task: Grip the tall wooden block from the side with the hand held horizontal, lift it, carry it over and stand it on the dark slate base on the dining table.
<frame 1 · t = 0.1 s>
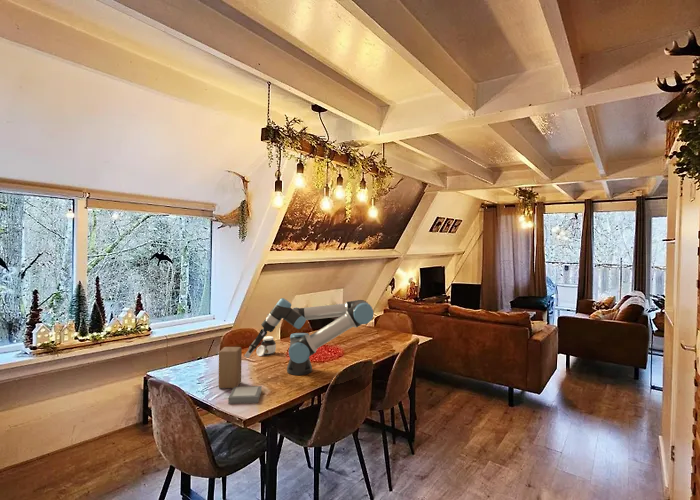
hand: (248, 353, 215), 15 cm above the table, tool tilted 35°, fingers open, 13 cm apart
wooden block: (230, 385, 206), on the table
spread jar: (266, 354, 264), on the table
slate base: (245, 397, 191), on the table
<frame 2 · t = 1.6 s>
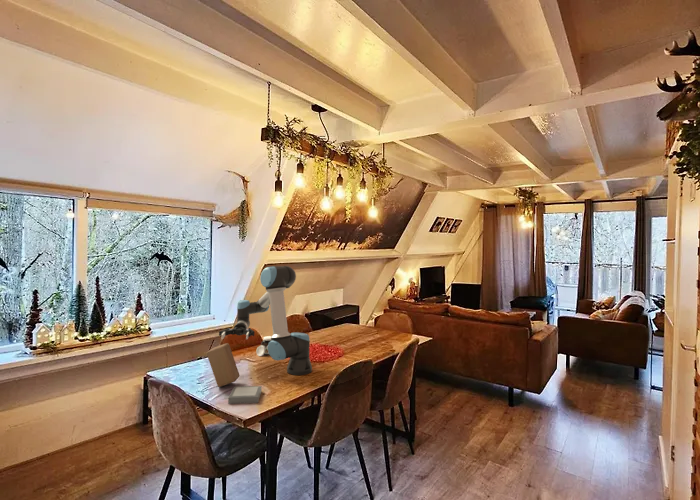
hand: (234, 337, 215), 24 cm above the table, tool horizontal, fingers open, 13 cm apart
wooden block: (229, 382, 206), point 2 cm above the table
everything else where it was.
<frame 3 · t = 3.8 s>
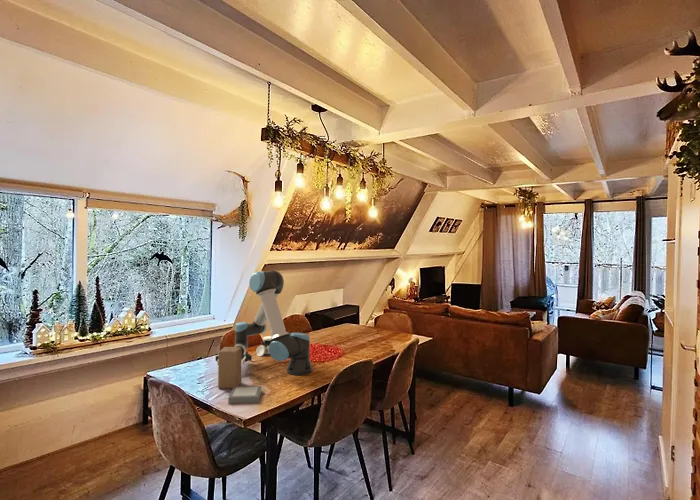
hand: (230, 362, 211), 11 cm above the table, tool horizontal, fingers open, 13 cm apart
wooden block: (229, 385, 206), on the table
everything else where it was.
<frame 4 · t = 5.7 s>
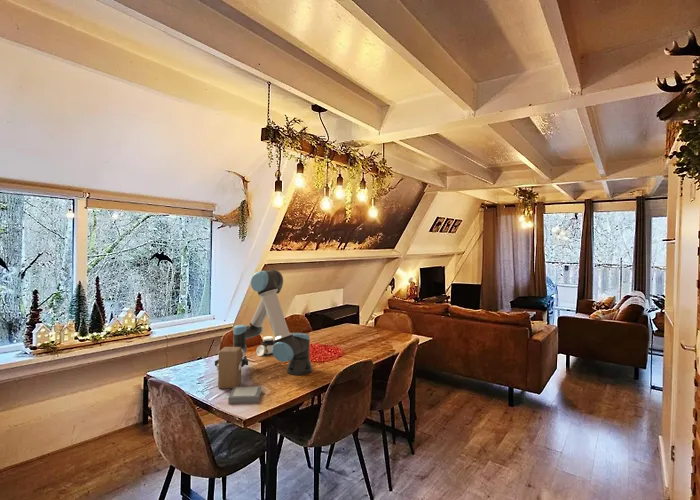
hand: (228, 367, 202), 11 cm above the table, tool horizontal, fingers closed on wooden block, 11 cm apart
wooden block: (229, 385, 206), on the table, touching gripper
everything else where it was.
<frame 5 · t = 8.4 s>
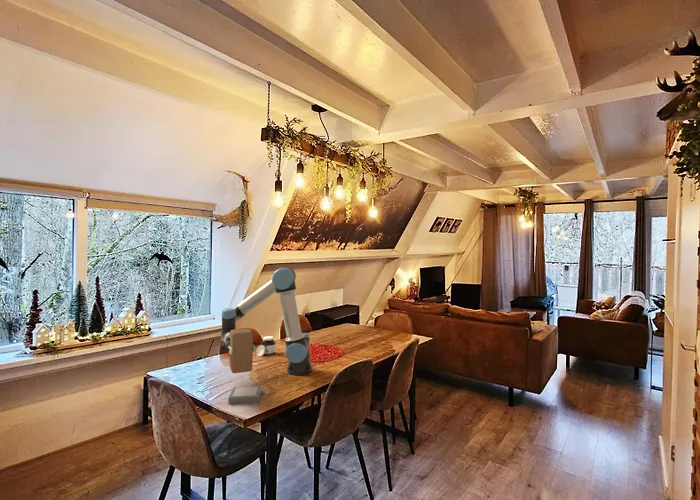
hand: (243, 350, 189), 24 cm above the table, tool horizontal, fingers closed on wooden block, 11 cm apart
wooden block: (240, 370, 193), point 13 cm above the table, touching gripper
everything else where it was.
when the fingers open (15 cm above the table, at t = 10.9 s): wooden block drops 1 cm, resting on slate base.
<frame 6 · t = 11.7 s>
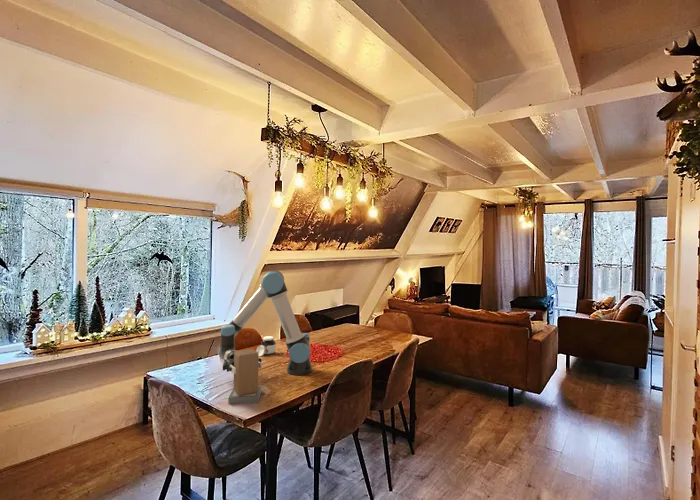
hand: (248, 368, 188), 16 cm above the table, tool horizontal, fingers open, 13 cm apart
wooden block: (245, 391, 191), point 3 cm above the table, touching slate base
everything else where it was.
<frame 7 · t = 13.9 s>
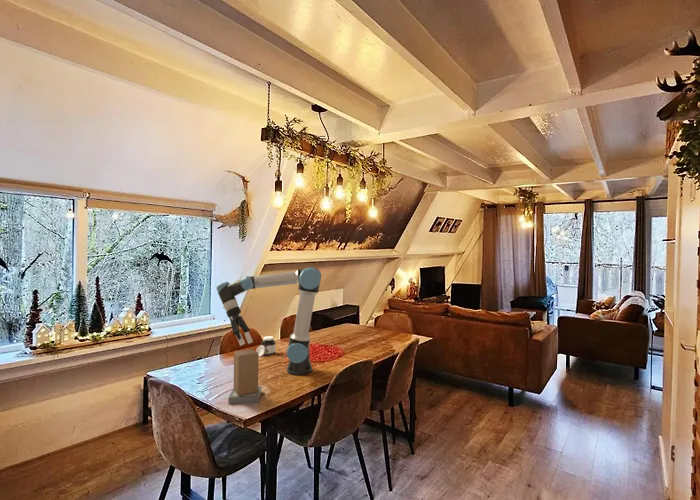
hand: (246, 343, 210), 22 cm above the table, tool tilted 30°, fingers open, 13 cm apart
nothing on the table moved.
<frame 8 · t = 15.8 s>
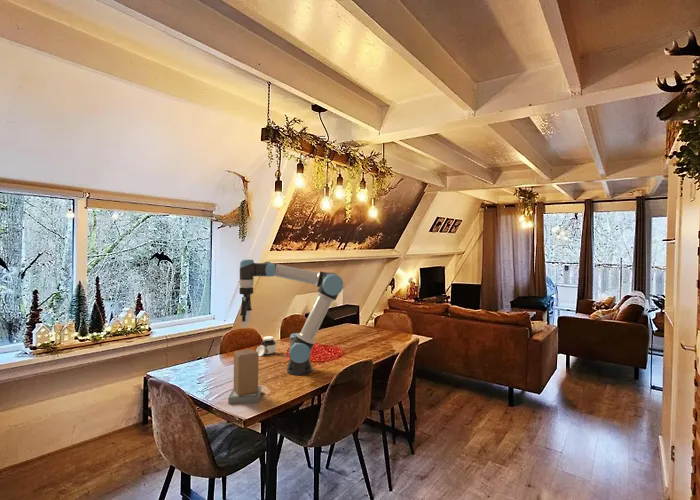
hand: (246, 324, 214), 32 cm above the table, tool pointing down, fingers open, 13 cm apart
nothing on the table moved.
at the end: wooden block inside the target area on the slate base (0.1 cm from its centre), point 3.0 cm above the slate base's base; wooden block tilted 0°; the gripper is holding nothing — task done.
